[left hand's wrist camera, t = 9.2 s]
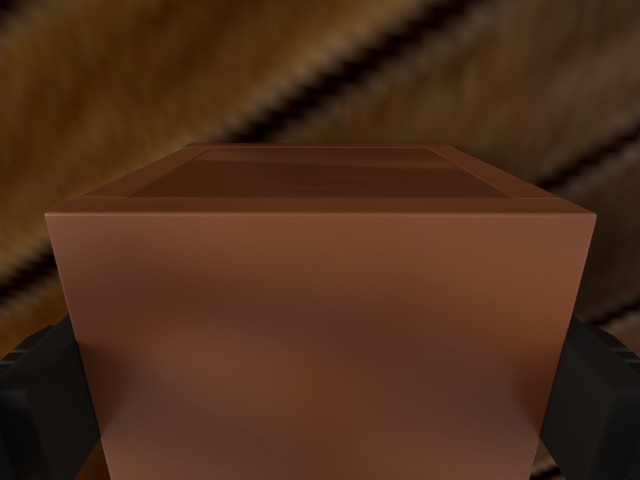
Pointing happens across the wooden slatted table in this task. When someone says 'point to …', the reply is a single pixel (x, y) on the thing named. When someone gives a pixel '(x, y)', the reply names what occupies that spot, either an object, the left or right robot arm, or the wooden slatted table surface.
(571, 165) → the wooden slatted table surface
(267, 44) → the wooden slatted table surface
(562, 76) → the wooden slatted table surface
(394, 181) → the cabinet
